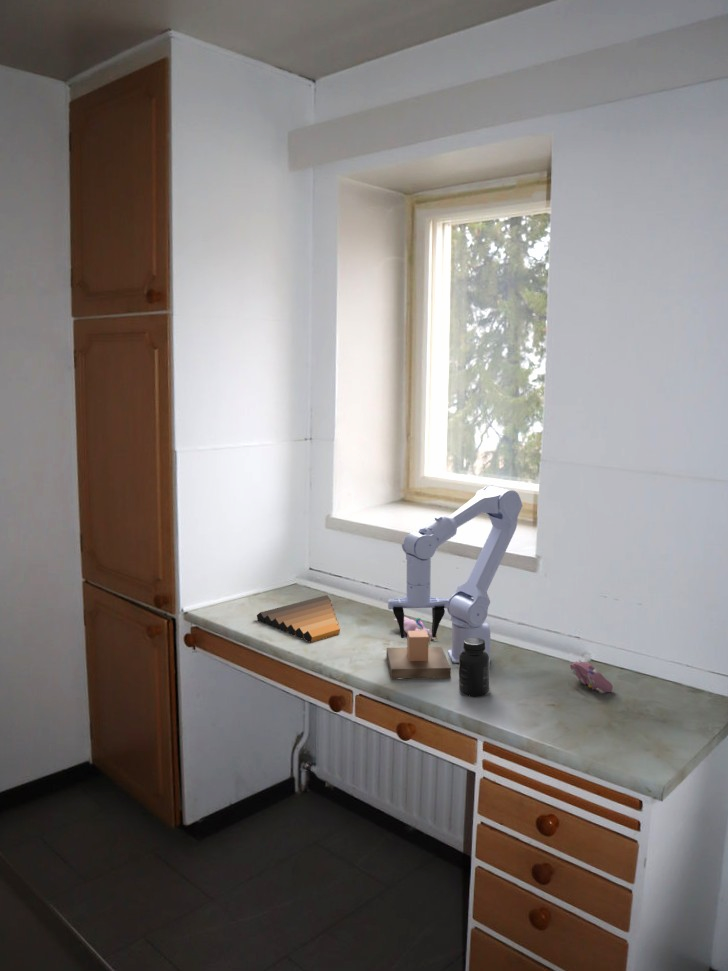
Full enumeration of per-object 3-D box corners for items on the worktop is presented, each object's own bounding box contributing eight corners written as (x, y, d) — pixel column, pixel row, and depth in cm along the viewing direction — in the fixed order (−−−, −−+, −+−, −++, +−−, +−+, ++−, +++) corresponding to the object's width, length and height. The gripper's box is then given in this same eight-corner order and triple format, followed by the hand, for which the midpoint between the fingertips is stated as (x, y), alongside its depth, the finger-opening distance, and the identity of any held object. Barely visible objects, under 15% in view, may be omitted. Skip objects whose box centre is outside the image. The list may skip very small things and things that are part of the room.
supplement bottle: (479, 683, 188) (480, 634, 186) (494, 695, 182) (496, 644, 180) (453, 688, 186) (454, 637, 184) (467, 699, 179) (468, 648, 177)
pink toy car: (574, 685, 191) (564, 661, 189) (588, 674, 192) (579, 651, 190) (600, 701, 182) (590, 677, 180) (616, 690, 183) (605, 665, 181)
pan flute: (323, 604, 250) (256, 622, 233) (323, 593, 249) (256, 610, 232) (379, 623, 232) (312, 644, 215) (379, 612, 231) (312, 632, 214)
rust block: (425, 653, 200) (426, 630, 199) (428, 660, 195) (428, 636, 194) (407, 654, 200) (407, 630, 199) (409, 661, 195) (409, 637, 194)
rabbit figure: (440, 644, 218) (402, 622, 228) (443, 624, 216) (405, 602, 227) (424, 649, 214) (386, 626, 224) (427, 629, 212) (388, 607, 223)
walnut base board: (441, 656, 205) (441, 646, 205) (450, 678, 191) (450, 667, 191) (386, 657, 204) (386, 647, 204) (391, 679, 191) (391, 669, 190)
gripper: (445, 577, 199) (445, 630, 201) (387, 578, 198) (386, 631, 200) (450, 585, 192) (449, 640, 194) (389, 586, 191) (389, 641, 193)
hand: (418, 636), depth 197 cm, fingers open, 7 cm apart
